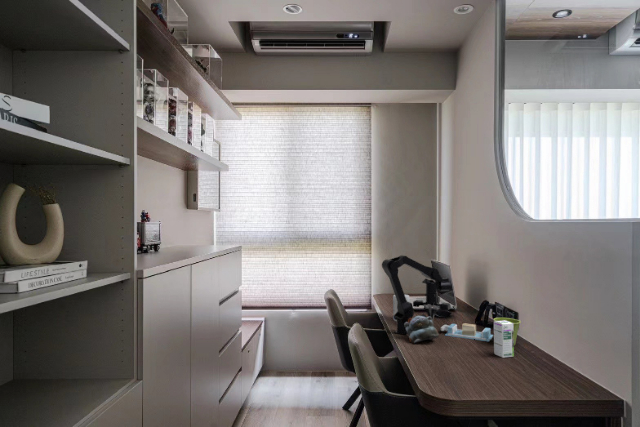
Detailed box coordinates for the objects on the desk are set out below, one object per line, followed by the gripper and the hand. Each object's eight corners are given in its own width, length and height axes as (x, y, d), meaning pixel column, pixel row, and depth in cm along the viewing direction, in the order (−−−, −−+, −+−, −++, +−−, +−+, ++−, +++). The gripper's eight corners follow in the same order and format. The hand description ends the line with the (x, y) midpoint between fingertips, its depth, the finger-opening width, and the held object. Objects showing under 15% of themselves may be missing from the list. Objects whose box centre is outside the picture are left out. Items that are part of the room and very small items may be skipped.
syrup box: (502, 358, 178) (502, 323, 179) (493, 353, 184) (493, 320, 184) (514, 357, 180) (514, 322, 180) (504, 352, 186) (504, 319, 186)
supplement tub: (413, 320, 245) (413, 295, 245) (403, 323, 239) (403, 297, 239) (399, 318, 252) (399, 293, 252) (389, 320, 246) (389, 295, 246)
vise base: (489, 341, 203) (489, 333, 203) (445, 335, 214) (445, 327, 214) (493, 335, 213) (493, 327, 213) (450, 330, 224) (450, 322, 224)
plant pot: (524, 348, 192) (523, 323, 192) (496, 347, 194) (496, 322, 194) (517, 341, 203) (517, 318, 204) (491, 340, 206) (491, 316, 206)
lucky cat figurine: (407, 344, 198) (400, 315, 205) (411, 347, 208) (404, 320, 215) (439, 337, 195) (430, 307, 201) (441, 341, 205) (433, 313, 212)
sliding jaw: (452, 334, 213) (452, 327, 213) (440, 333, 216) (440, 326, 216) (456, 330, 221) (456, 324, 221) (445, 329, 224) (445, 322, 224)
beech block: (474, 336, 210) (474, 326, 210) (462, 334, 213) (462, 324, 213) (476, 334, 214) (475, 324, 214) (463, 332, 217) (463, 323, 217)
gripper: (453, 291, 226) (453, 320, 225) (419, 288, 235) (419, 316, 235) (447, 294, 216) (447, 324, 216) (412, 290, 226) (412, 320, 225)
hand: (431, 321), depth 223 cm, fingers closed
